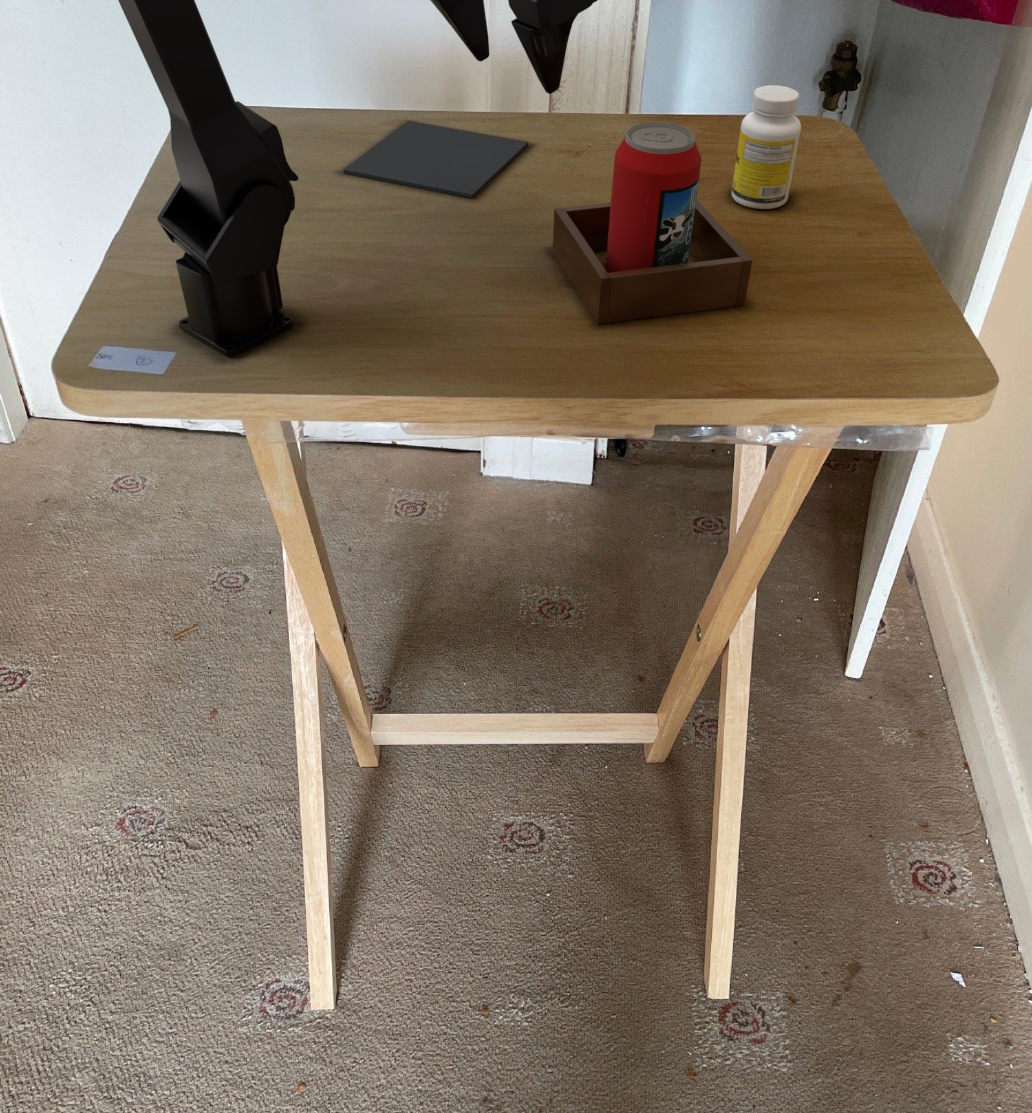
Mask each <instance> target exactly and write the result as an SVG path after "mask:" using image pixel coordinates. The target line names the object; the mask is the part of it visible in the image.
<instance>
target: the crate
mask: <svg viewBox="0 0 1032 1113" xmlns="http://www.w3.org/2000/svg"><path fill="white" fill-rule="evenodd" d="M610 206H611V201H610V202H604V203H603V202H602V203H592V204H584V205H574V206H565V207H564V206H563V207H555V208H553V229H552V230H553V232H552V253H553V255H554V257H555V258H556V259H557V261H558V263H559V265H560V266H561V267H562V269H563V271H564V273H565V274H566V275H567V277H568V279H569V280H570V282H571V284H572V285H573V287H574V289H575V290H576V292H577V293H578V295H579V296H580V298H581V300H582V301H583V303H584V304H585V306H586V308H587V309H588V311H589V312H590V315H591V316H592V317H593V319H594V320H595V322H596V324H597V325H605V324H611V323H612V324H613V323H619V322H620V323H621V322H627V321H635V320H641V319H642V320H643V319H650V318H658V317H665V316H672V315H680V314H686V313H687V314H688V313H695V312H702V311H710V310H718V309H724V308H734V307H740V306H745V304H746V298H747V292H748V288H749V282H750V275H751V271H752V265H753V259H752V258H751V257H750V256H749V255H748V253H746V251H745V250H744V249H743V248H742V247H741V246H740V244H738V243H737V241H736V240H735V239H734V238H733V237H732V236H731V235H730V234H729V233H728V232H727V230H726V229H725V228H724V226H722V224H720V223H719V222H718V221H717V219H716V218H715V217H714V216H713V215H712V214H711V212H709V210H708V209H707V208H706V207H705V206H704V205H703V204H702V202H700V201H699V200H698V199H696V206H695V213H694V220H693V227H692V235H691V242H690V248H689V253H691V254H692V255H693V257H694V258H695V260H697V261H694V262H687V263H685V264H677V265H669V266H661V267H652V268H644V269H636V270H628V271H620V272H612V273H608V272H607V269H606V268H605V266H604V265H603V264H602V262H601V260H600V259H599V258H598V256H597V255H596V254H595V252H600V251H607V247H608V233H609V219H610Z"/></svg>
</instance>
